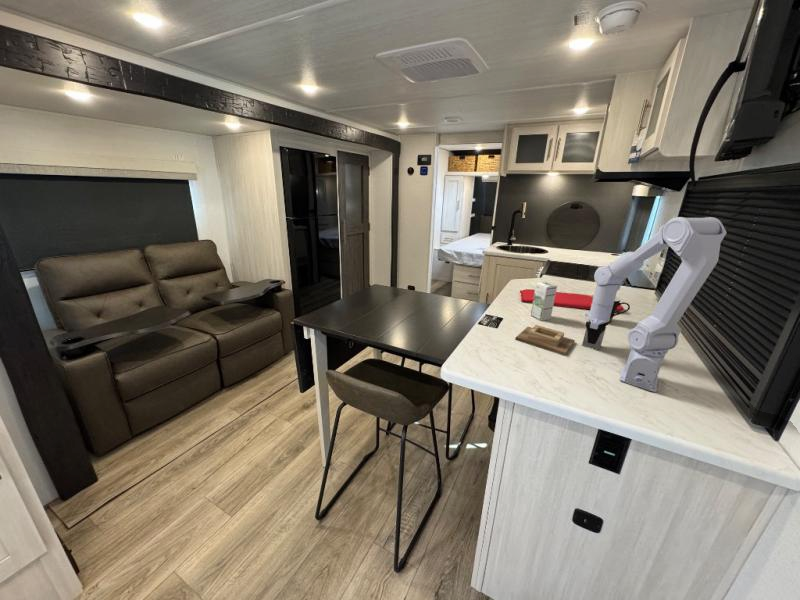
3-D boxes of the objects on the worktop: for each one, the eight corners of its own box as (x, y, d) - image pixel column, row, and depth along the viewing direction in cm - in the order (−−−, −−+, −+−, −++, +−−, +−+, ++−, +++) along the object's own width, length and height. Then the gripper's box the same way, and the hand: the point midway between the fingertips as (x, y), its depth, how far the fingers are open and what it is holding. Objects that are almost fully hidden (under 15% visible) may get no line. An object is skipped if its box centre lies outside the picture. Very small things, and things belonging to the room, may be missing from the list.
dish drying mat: (519, 293, 157) (520, 286, 156) (610, 303, 145) (613, 295, 144) (521, 303, 143) (522, 295, 142) (622, 315, 131) (624, 307, 130)
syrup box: (551, 319, 125) (558, 285, 120) (540, 321, 123) (546, 286, 118) (540, 313, 130) (546, 281, 125) (529, 315, 128) (535, 282, 123)
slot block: (564, 355, 97) (567, 346, 96) (515, 339, 107) (516, 330, 106) (574, 342, 106) (576, 333, 105) (527, 328, 116) (528, 320, 114)
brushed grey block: (598, 350, 101) (604, 331, 98) (581, 345, 104) (586, 326, 102) (600, 347, 103) (605, 328, 101) (583, 342, 106) (588, 324, 104)
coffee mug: (585, 319, 125) (591, 296, 122) (593, 314, 130) (599, 292, 127) (618, 329, 117) (625, 304, 113) (625, 323, 122) (632, 300, 118)
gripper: (592, 295, 106) (583, 330, 110) (583, 306, 95) (574, 345, 100) (617, 300, 101) (606, 336, 106) (610, 312, 91) (598, 352, 96)
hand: (592, 341), depth 103 cm, fingers closed on brushed grey block, 3 cm apart
